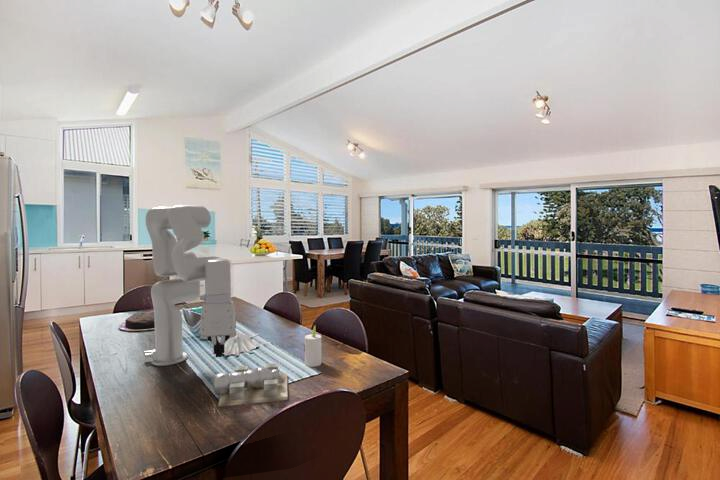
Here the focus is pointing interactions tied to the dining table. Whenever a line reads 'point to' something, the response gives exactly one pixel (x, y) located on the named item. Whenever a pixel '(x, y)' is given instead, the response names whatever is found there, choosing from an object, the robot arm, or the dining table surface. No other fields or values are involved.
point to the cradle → (256, 390)
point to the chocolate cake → (139, 322)
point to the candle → (312, 349)
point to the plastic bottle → (243, 379)
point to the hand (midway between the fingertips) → (219, 355)
